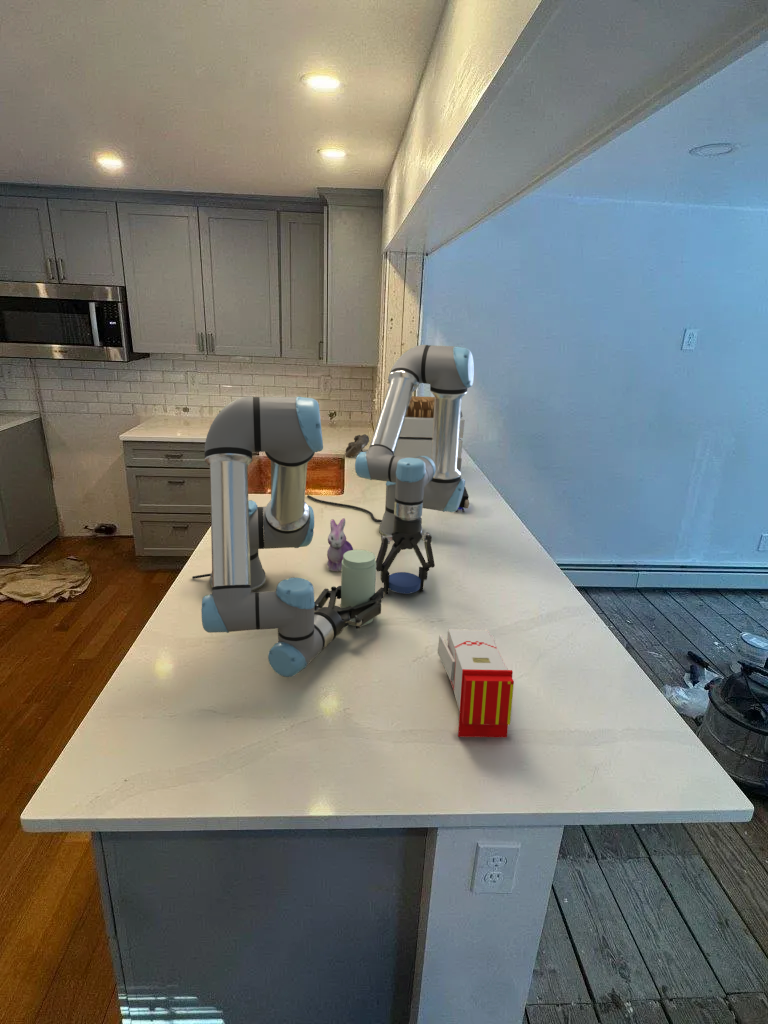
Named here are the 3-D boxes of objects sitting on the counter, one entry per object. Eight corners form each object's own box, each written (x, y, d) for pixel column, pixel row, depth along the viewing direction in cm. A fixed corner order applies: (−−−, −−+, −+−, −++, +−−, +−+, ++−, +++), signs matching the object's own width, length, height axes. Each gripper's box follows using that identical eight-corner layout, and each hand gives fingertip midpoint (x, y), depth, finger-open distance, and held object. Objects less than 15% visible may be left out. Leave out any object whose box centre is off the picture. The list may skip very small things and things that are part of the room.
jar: (349, 629, 140) (351, 565, 134) (335, 613, 147) (335, 552, 141) (380, 621, 144) (382, 559, 138) (364, 606, 151) (366, 546, 145)
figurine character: (469, 517, 223) (463, 501, 236) (471, 500, 219) (465, 484, 233) (452, 516, 222) (447, 500, 236) (454, 499, 219) (449, 483, 232)
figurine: (332, 575, 167) (332, 527, 162) (319, 561, 175) (319, 516, 170) (361, 569, 171) (362, 523, 166) (347, 556, 179) (348, 512, 174)
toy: (488, 613, 130) (523, 677, 101) (484, 667, 133) (517, 744, 104) (435, 612, 130) (455, 676, 101) (432, 666, 133) (451, 743, 103)
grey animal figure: (345, 440, 315) (366, 425, 310) (356, 453, 318) (377, 439, 313) (338, 454, 296) (361, 438, 291) (350, 468, 298) (372, 452, 293)
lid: (423, 581, 162) (424, 575, 161) (415, 596, 153) (416, 589, 153) (392, 576, 164) (392, 569, 164) (382, 589, 156) (382, 583, 155)
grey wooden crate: (382, 463, 289) (386, 382, 275) (445, 464, 293) (451, 384, 279) (390, 482, 257) (394, 392, 243) (460, 483, 261) (468, 394, 247)
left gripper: (281, 630, 133) (330, 591, 153) (362, 656, 125) (403, 611, 144) (280, 602, 131) (330, 566, 150) (363, 626, 122) (404, 584, 142)
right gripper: (371, 523, 146) (367, 600, 153) (451, 519, 151) (444, 594, 159) (364, 513, 153) (361, 587, 160) (441, 509, 158) (435, 582, 166)
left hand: (366, 588), depth 147 cm, fingers closed on jar, 9 cm apart
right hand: (403, 591), depth 159 cm, fingers closed on lid, 9 cm apart
